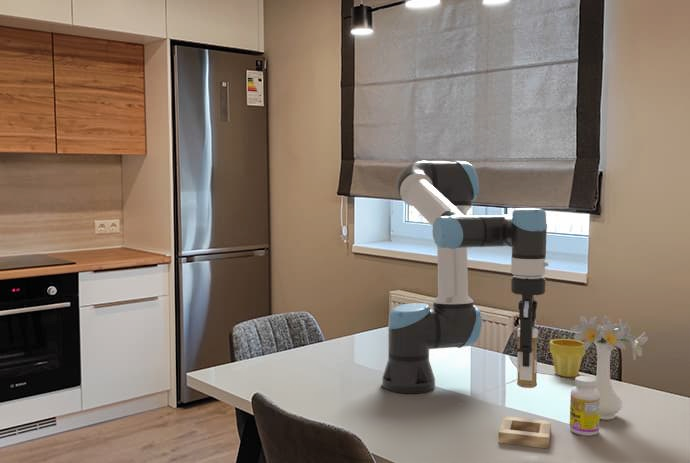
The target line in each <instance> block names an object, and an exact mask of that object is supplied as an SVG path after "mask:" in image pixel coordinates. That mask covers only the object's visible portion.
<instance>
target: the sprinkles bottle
mask: <svg viewBox="0 0 690 463" xmlns="http://www.w3.org/2000/svg"><path fill="white" fill-rule="evenodd" d="M516 332H517V333H516V334H517V335H516V336H517V349H519V347H520V326H519V327H518V328H517V331H516ZM538 337H539V331H538V328H536V327H535V328H532V352H533V362H532V381H530V380H520V352H517V360H516V361H517V365H516V366H517V367H516V370H517V382H516V385H517V386H518V387H519V388H520V387H521V388H524V389H533V388H536V387H537V385H538V384H537V377H538V376H537V372H538V369H537V368H538V357H537V356H538V354H537V350H538V349H537V347H538V342H537V341H538Z"/></svg>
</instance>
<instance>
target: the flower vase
mask: <svg viewBox="0 0 690 463" xmlns="http://www.w3.org/2000/svg"><path fill="white" fill-rule="evenodd" d="M597 320H598V317H597V316H593V317H591V318H590V319H589V321H588V318H587V317H586V316H585V315H580V317H579V325H573V326H571V327H570V328H569V330H570V331H571V332H574V333H575V332H578V333H576V334H575V335H574V336H573V340H576V341H581V342H583V341H584V342H583V348H584V349H585V351H587V350H588V349H589V348H590V346H591V344H592V342H594V344H595V348H596V355H597V358H596V359H597V363H596V375H595V379H596V386H595V389H597V390H598V391H599V393H600V417H599V420H604V421H608V420H609V421H610V420H613V419H615V417H616V414H618V413H619V412H620V411H622V408H623V401H622V399H621V397H620V396H619V395H618V393H617V392H616V391H615V390H614V388H613V385H612V382H611V364H610V363H611V353H612V351H613V350H614V349H615V346H616V347H617V348H618V349H620V350H627V347H626V345H625V343H624V342H627V343H629V344H630V346H631V348H632V356H633V361H636V358H637V356H639V357H642V356H643V348H642V346H643V345H645V343H646V342H647V341H648V339H649V336H646V331H644V332H643V333H642V334H640V335H639V336H638V337H637V338H636V337H635V335H633V334H630V332H631V326H630V324H629V323H628V322H626V323H625V324H624V322H623V320H622V319H621V318H619V323H615V324H613V323H612V320H611V318H610V317H609V316H607V315H605V316H604V317H603V325H601V324H599V321H597Z"/></svg>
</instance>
